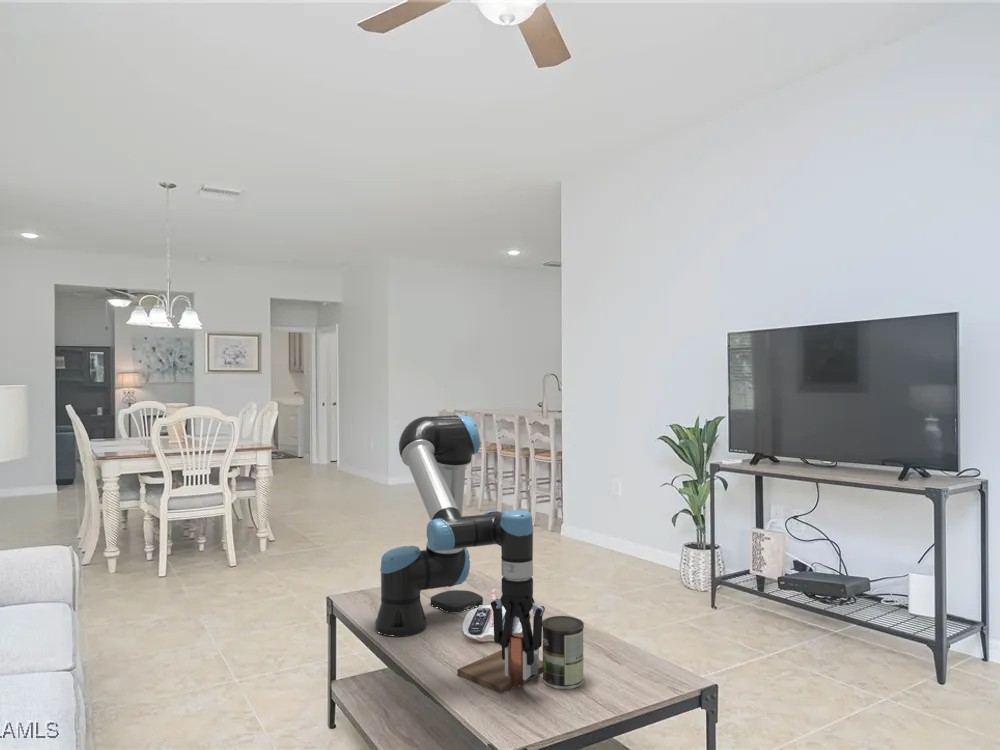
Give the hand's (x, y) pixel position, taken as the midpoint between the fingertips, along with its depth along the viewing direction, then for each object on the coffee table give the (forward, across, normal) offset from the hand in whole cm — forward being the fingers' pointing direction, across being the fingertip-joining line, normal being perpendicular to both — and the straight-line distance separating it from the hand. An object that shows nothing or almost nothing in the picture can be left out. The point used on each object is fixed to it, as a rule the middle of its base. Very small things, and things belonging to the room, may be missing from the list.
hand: (517, 675), depth 160 cm
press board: (+4, -8, +8) cm, 12 cm away
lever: (+2, -2, +7) cm, 8 cm away
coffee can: (+4, +7, +10) cm, 13 cm away
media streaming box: (+4, -46, +47) cm, 66 cm away
